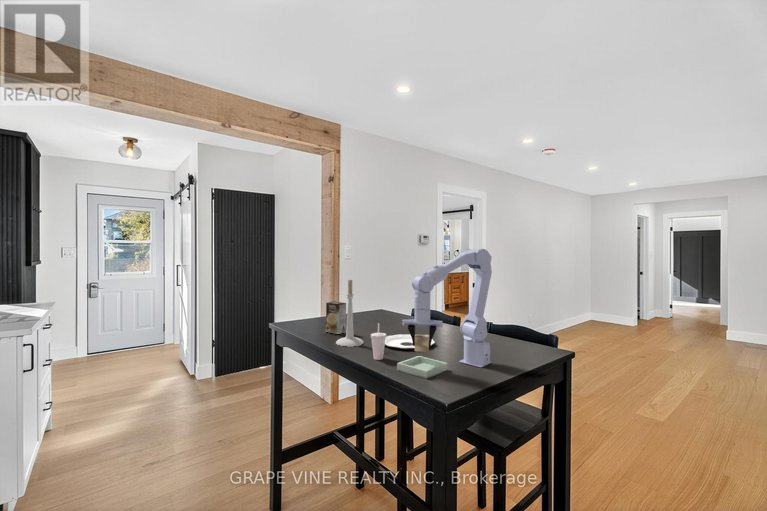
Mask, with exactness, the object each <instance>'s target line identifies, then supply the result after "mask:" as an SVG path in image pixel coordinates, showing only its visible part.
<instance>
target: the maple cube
mask: <svg viewBox="0 0 767 511" xmlns="http://www.w3.org/2000/svg"><path fill="white" fill-rule="evenodd" d="M429 351H430V347H429V334H416V333H415V350H414V352H421V353H424V352H425V353H429Z"/></svg>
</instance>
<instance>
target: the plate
mask: <svg viewBox="0 0 767 511" xmlns="http://www.w3.org/2000/svg"><path fill="white" fill-rule="evenodd" d="M403 343H410V344H412V345H403ZM435 344H436V342H435V341H434V339H433V338H432V341H431V346H432V345H435ZM385 346H386V347H388V348H393V349H398V350H409V351H412V350H413V351H415V346H413V341H412V337H411V335H410V333H409V334H393V335H386V339H385Z"/></svg>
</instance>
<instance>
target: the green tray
mask: <svg viewBox="0 0 767 511" xmlns="http://www.w3.org/2000/svg"><path fill="white" fill-rule="evenodd" d="M448 364H449V363H448V362H445V361H441V360H437V359H433V358H429V357H426V356H421V355H418V356H417V355H416V356H414V357H411V358H409V359H406V360H402V361H399V362H397V363H396V371H399V372H403V373H404V374H405V373H406V374H408V375H412V376H415V377H419V378H421V379H426V380H427V379H429V378H432V377H435V376H437V375H439V374H442V373H443V372H447V371H448Z"/></svg>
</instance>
